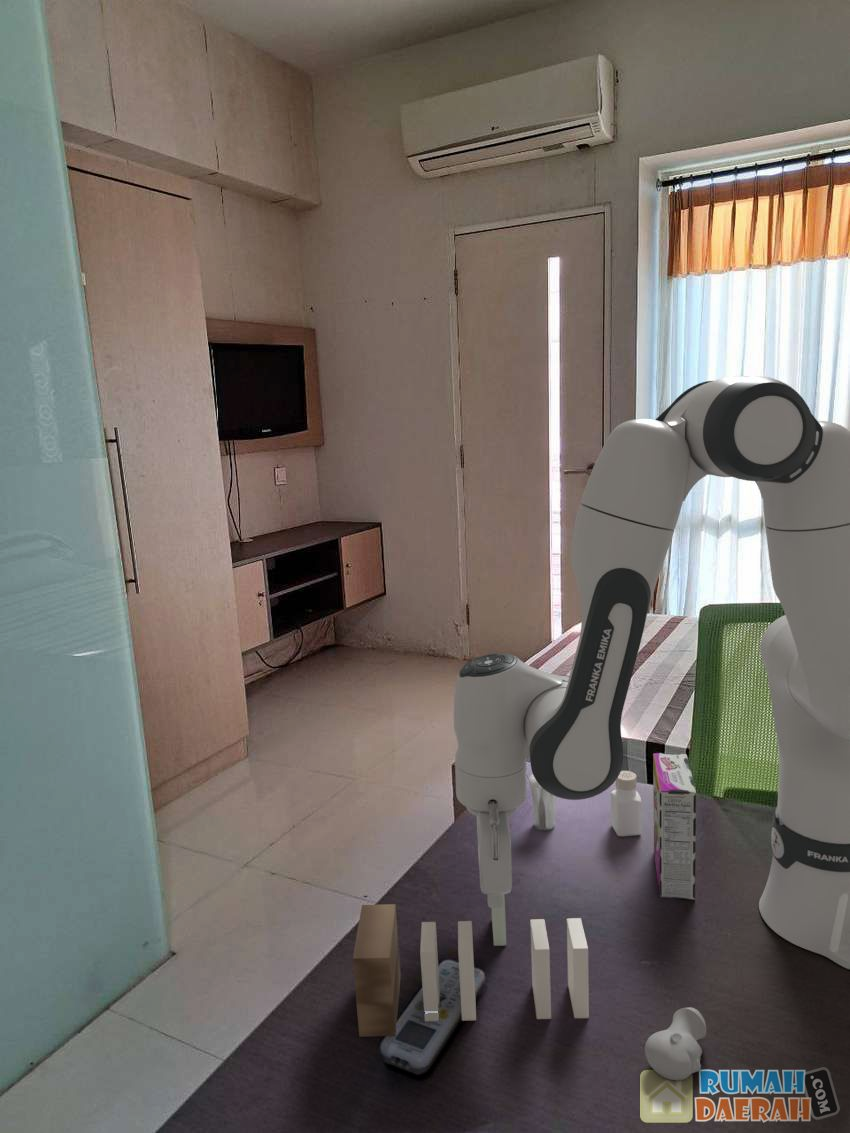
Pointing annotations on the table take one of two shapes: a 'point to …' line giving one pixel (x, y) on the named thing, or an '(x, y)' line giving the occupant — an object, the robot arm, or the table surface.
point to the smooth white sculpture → (677, 1045)
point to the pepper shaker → (626, 805)
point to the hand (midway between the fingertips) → (492, 880)
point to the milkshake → (542, 806)
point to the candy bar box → (674, 825)
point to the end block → (377, 970)
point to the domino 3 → (499, 924)
